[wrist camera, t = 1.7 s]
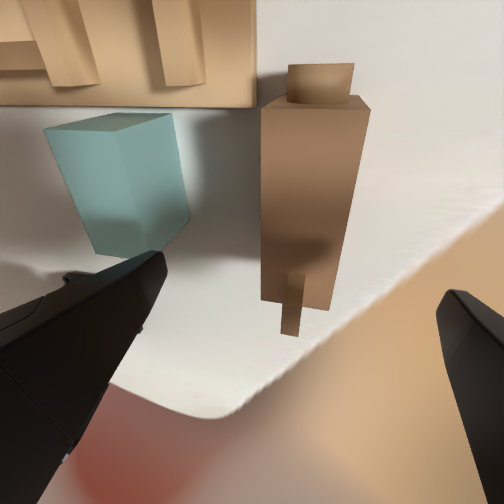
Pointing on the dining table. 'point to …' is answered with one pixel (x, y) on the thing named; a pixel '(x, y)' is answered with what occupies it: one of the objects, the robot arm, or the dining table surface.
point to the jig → (128, 53)
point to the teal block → (123, 180)
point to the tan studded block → (308, 185)
